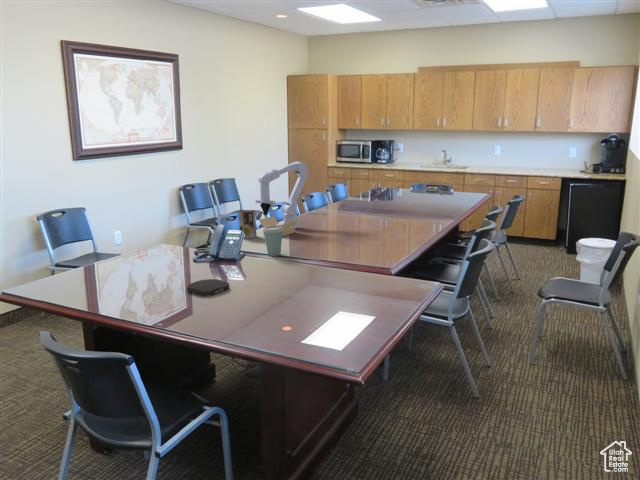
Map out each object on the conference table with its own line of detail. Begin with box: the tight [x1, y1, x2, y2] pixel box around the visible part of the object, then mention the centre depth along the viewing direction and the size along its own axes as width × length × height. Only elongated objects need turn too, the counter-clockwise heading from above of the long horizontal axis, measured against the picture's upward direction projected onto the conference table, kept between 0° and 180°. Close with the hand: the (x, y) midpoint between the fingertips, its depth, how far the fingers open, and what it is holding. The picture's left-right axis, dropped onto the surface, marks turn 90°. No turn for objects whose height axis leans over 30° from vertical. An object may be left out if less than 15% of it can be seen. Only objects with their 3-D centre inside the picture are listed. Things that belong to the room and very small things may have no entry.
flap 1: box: [258, 215, 280, 228], centre depth 331 cm, size 15×1×6 cm
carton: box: [279, 224, 296, 237], centre depth 328 cm, size 18×12×4 cm
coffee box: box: [238, 209, 258, 239], centre depth 319 cm, size 9×6×16 cm
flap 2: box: [282, 218, 300, 229], centre depth 323 cm, size 15×1×6 cm
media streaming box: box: [186, 278, 230, 297], centre depth 221 cm, size 15×15×3 cm
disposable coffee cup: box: [262, 224, 283, 257], centre depth 276 cm, size 11×11×15 cm
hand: (265, 215), depth 336 cm, fingers closed
